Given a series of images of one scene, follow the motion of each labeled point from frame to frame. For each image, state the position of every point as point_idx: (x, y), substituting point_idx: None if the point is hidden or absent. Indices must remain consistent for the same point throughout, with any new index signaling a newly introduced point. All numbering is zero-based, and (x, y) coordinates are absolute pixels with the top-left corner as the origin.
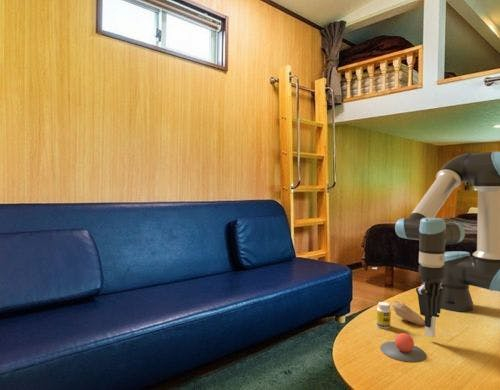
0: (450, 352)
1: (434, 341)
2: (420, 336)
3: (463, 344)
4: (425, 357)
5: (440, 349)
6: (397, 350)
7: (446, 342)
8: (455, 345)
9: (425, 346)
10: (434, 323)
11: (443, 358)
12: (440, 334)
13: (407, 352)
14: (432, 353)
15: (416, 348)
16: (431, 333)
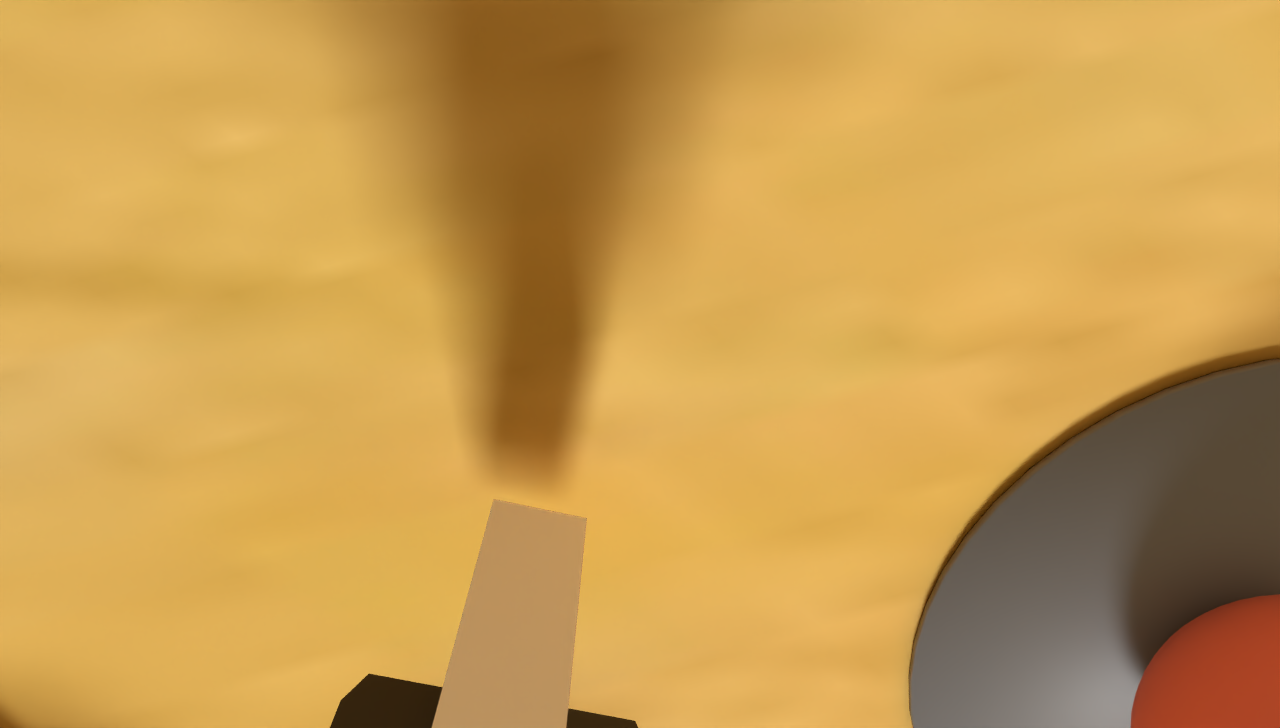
0: (743, 104)
1: (465, 458)
2: None
3: (115, 14)
4: None
5: (741, 283)
6: None
7: (324, 296)
8: (317, 127)
9: (801, 497)
10: (478, 726)
11: (1119, 124)
12: (53, 478)
13: None
14: (1019, 332)
15: (1023, 565)
16: (576, 586)
